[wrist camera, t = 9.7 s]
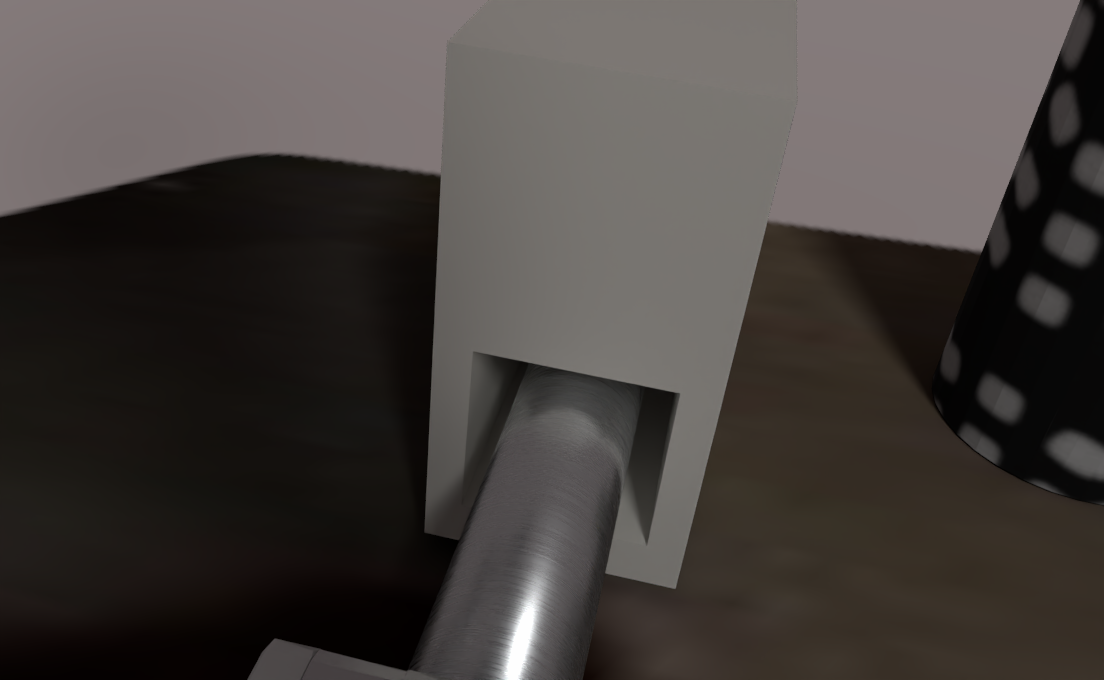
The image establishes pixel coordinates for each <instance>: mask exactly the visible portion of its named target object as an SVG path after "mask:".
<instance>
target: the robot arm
mask: <svg viewBox="0 0 1104 680" xmlns="http://www.w3.org/2000/svg"><path fill="white" fill-rule="evenodd" d="M247 680H454V679H450V678H445V677H440V676H435V675H431V674H426V673H421V672H417V671H412V670H408V671H405V670H401V669H397V668H393V667H389V666H385V665H381V664H377V663H373V662H369V661H365V660H361V659H357V658H353V657H349V656H345V655H341V654H337V653H333V652H329V651H325V650H321V649H318V648H314V647H310V646H305V645H301V644H297V643H292V642H288V641H284V640H279V639H274V640H273V641H272V642H271V643H270V644H269V645H268V646H267V647H266V648H265V649H264V651H263V652H262V654H261V655H260V657H259V659H258V661H257V663H256V665H255V666H254V668H253V670H252V672H251V674H250V676H249V678H248V679H247Z"/></svg>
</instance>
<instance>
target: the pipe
mask: <svg viewBox="0 0 1104 680" xmlns="http://www.w3.org/2000/svg"><path fill="white" fill-rule="evenodd" d="M644 390H645V386H641V385H636V384H631V383H626V382H621V381H617V380H612V379H607V378H602V377H597V376H592V375H587V374H582V373H577V372H572V371H567V370H563V369H558V368H553V367H548V366H543V365H538V364H533V363H529V364H528V367H527V369H526V372H525V374H524V377H523V379H522V382H521V384H520V387H519V390H518V392H517V395H516V397H515V400H514V402H513V405H512V407H511V410H510V412H509V415H508V417H507V420H506V422H505V425H504V428H503V430H502V433H501V435H500V438H499V440H498V443H497V445H496V448H495V450H494V453H493V455H492V458H491V460H490V463H489V466H488V468H487V471H486V473H485V476H484V478H483V481H482V483H481V486H480V488H479V491H478V493H477V496H476V498H475V501H474V503H473V506H472V509H471V511H470V514H469V516H468V519H467V521H466V524H465V526H464V529H463V531H462V534H461V536H460V539H459V541H458V544H457V547H456V549H455V552H454V554H453V557H452V559H451V562H450V564H449V567H448V569H447V572H446V574H445V577H444V579H443V582H442V585H441V587H440V590H439V592H438V595H437V597H436V600H435V602H434V605H433V607H432V610H431V612H430V615H429V617H428V620H427V623H426V625H425V628H424V630H423V633H422V635H421V638H420V640H419V643H418V645H417V648H416V650H415V653H414V655H413V658H412V661H411V663H410V666H409V668H408V670H412V671H417V672H421V673H426V674H431V675H435V676H440V677H445V678H450V679H454V680H582V679H583V674H584V669H585V665H586V660H587V656H588V651H589V646H590V642H591V637H592V632H593V628H594V623H595V618H596V614H597V609H598V604H599V600H600V595H601V590H602V586H603V581H604V576H605V572H606V567H607V562H608V558H609V553H610V548H611V544H612V539H613V534H614V530H615V525H616V520H617V516H618V511H619V507H620V502H621V497H622V493H623V488H624V483H625V479H626V474H627V469H628V465H629V460H630V455H631V451H632V446H633V441H634V437H635V432H636V427H637V423H638V418H639V413H640V409H641V404H642V399H643V395H644Z"/></svg>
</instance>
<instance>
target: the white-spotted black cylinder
mask: <svg viewBox="0 0 1104 680" xmlns="http://www.w3.org/2000/svg"><path fill="white" fill-rule="evenodd" d="M932 391H933V395H934V399H935V403H936V405H937V407H938V409H939V411H940V412H941V414H942V416H943V418H944V419H945V420H946V422H947V423H948V424H949V425H950V426H951V428H952V429H953V430H954V431H955V432H956V434H957V435H958V436H960V437H961V438H962V439H963V440H964V441H965V442H966V443H967V444H969V445H970V446H971V447H972V448H973V449H974V450H975V451H977V452H978V453H980V454H981V455H982V456H984V457H985V458H987V459H988V460H990V461H991V462H993V463H994V464H996V465H997V466H999V467H1000V468H1002V469H1004V470H1006V471H1008V472H1010V473H1012V474H1013V475H1015V476H1017V477H1019V478H1021V479H1023V480H1025V481H1027V482H1029V483H1032V484H1034V485H1037V486H1039V487H1041V488H1044V489H1046V490H1049V491H1051V492H1054V493H1057V494H1061V495H1064V496H1067V497H1070V498H1074V499H1077V500H1080V501H1085V502H1090V503H1096V504H1101V505H1104V0H1080V3H1079V5H1078V8H1077V11H1076V13H1075V15H1074V18H1073V20H1072V23H1071V25H1070V28H1069V31H1068V33H1067V36H1066V39H1065V41H1064V43H1063V46H1062V49H1061V51H1060V54H1059V56H1058V59H1057V61H1056V64H1055V66H1054V69H1053V72H1052V74H1051V77H1050V79H1049V82H1048V85H1047V87H1046V90H1045V92H1044V95H1043V97H1042V100H1041V102H1040V105H1039V107H1038V110H1037V112H1036V115H1035V118H1034V120H1033V123H1032V125H1031V128H1030V130H1029V133H1028V136H1027V138H1026V141H1025V143H1024V146H1023V149H1022V151H1021V153H1020V156H1019V159H1018V161H1017V164H1016V166H1015V169H1014V171H1013V174H1012V177H1011V179H1010V182H1009V184H1008V187H1007V189H1006V192H1005V194H1004V197H1003V200H1002V202H1001V205H1000V208H999V210H998V212H997V215H996V218H995V220H994V223H993V225H992V228H991V230H990V233H989V235H988V238H987V241H986V243H985V246H984V248H983V251H982V253H981V256H980V258H979V261H978V264H977V266H976V269H975V271H974V274H973V276H972V279H971V282H970V284H969V287H968V289H967V292H966V294H965V297H964V299H963V302H962V305H961V307H960V310H959V312H958V315H957V317H956V320H955V322H954V325H953V328H952V330H951V333H950V335H949V338H948V340H947V343H946V346H945V348H944V351H943V353H942V356H941V358H940V361H939V363H938V366H937V369H936V371H935V374H934V376H933V385H932Z"/></svg>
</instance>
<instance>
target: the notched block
mask: <svg viewBox="0 0 1104 680" xmlns="http://www.w3.org/2000/svg"><path fill="white" fill-rule="evenodd" d="M796 105H797V0H488V1H487V2H486V3H485V4H484V5H483V6H482V7H481V8H480V9H479V10H478V11H477V12H476V13H475V14H474V15H473V16H472V17H471V18H470V19H469V20H468V21H467V22H466V24H464V26H462V27H461V29H459V30H458V32H457V33H456V34H455V35H454V36H453V37H452V38H451V39H450V40H449V41H448V42H447V57H446V79H445V101H444V123H443V144H442V166H441V186H440V208H439V230H438V251H437V273H436V294H435V316H434V337H433V359H432V380H431V402H430V424H429V445H428V467H427V488H426V510H425V531H424V533H429V534H433V535H438V536H442V537H447V538H451V539H456V540H459V539H460V536H461V534H462V531H463V529H464V526H465V524H466V521H467V519H468V516H469V514H470V511H471V509H472V506H473V503H474V501H475V498H476V496H477V493H478V491H479V488H480V486H481V483H482V481H483V478H484V476H485V473H486V471H487V468H488V466H489V463H490V460H491V458H492V455H493V453H494V450H495V448H496V445H497V443H498V440H499V438H500V435H501V433H502V430H503V428H504V425H505V422H506V420H507V417H508V415H509V412H510V410H511V407H512V405H513V402H514V400H515V397H516V395H517V392H518V390H519V387H520V384H521V382H522V379H523V377H524V374H525V372H526V369H527V367H528V364H529V363H533V364H538V365H543V366H548V367H553V368H558V369H563V370H567V371H572V372H577V373H582V374H587V375H592V376H597V377H602V378H607V379H612V380H617V381H621V382H626V383H631V384H636V385H641V386H645V390H644V395H643V399H642V404H641V409H640V413H639V418H638V423H637V427H636V432H635V437H634V441H633V446H632V451H631V455H630V460H629V465H628V469H627V474H626V479H625V483H624V488H623V493H622V497H621V502H620V507H619V511H618V516H617V520H616V525H615V530H614V534H613V539H612V544H611V548H610V553H609V558H608V562H607V567H606V572H605V573H606V574H611V575H615V576H620V577H624V578H629V579H633V580H638V581H642V582H646V583H651V584H655V585H660V586H664V587H669V588H673V589H676V585H677V581H678V577H679V573H680V569H681V565H682V561H683V557H684V553H685V549H686V545H687V541H688V537H689V533H690V529H691V525H692V521H693V517H694V513H695V509H696V505H697V501H698V497H699V493H700V489H701V485H702V481H703V477H704V473H705V469H706V465H707V461H708V457H709V453H710V449H711V445H712V441H713V437H714V433H715V429H716V425H717V421H718V417H719V413H720V409H721V405H722V401H723V397H724V393H725V389H726V385H727V381H728V377H729V373H730V369H731V365H732V361H733V357H734V353H735V349H736V345H737V341H738V337H739V333H740V329H741V325H742V321H743V317H744V313H745V309H746V305H747V301H748V297H749V293H750V289H751V285H752V281H753V277H754V273H755V269H756V265H757V261H758V257H759V253H760V249H761V245H762V241H763V237H764V233H765V229H766V225H767V221H768V217H769V213H770V209H771V205H772V200H773V197H774V193H775V188H776V185H777V181H778V177H779V173H780V169H781V165H782V160H783V157H784V153H785V149H786V145H787V141H788V137H789V132H790V129H791V125H792V121H793V117H794V113H795V109H796Z"/></svg>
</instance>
